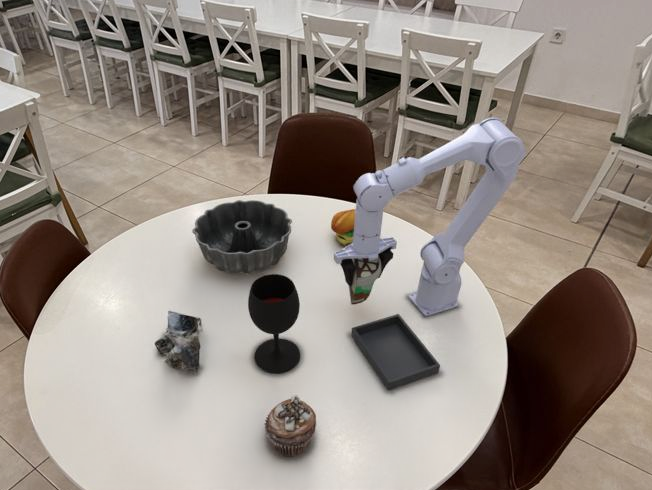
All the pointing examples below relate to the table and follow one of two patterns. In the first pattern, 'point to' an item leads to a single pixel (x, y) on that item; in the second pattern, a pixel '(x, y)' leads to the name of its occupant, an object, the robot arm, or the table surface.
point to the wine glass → (274, 321)
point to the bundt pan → (243, 235)
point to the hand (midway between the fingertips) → (362, 279)
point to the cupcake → (290, 426)
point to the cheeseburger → (344, 226)
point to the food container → (364, 278)
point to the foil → (181, 341)
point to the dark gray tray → (394, 351)
